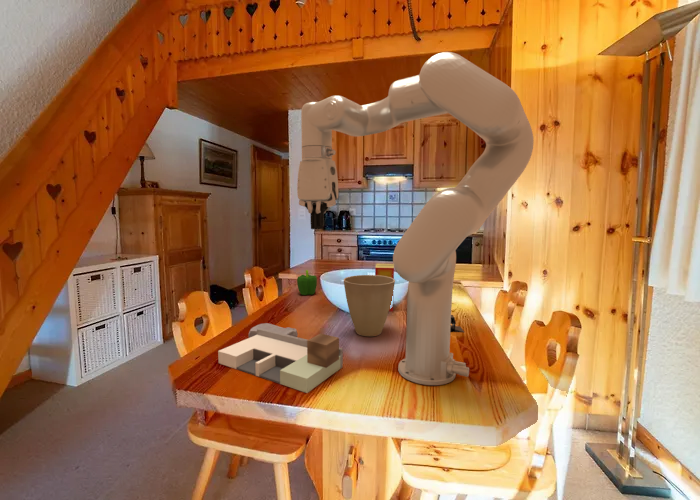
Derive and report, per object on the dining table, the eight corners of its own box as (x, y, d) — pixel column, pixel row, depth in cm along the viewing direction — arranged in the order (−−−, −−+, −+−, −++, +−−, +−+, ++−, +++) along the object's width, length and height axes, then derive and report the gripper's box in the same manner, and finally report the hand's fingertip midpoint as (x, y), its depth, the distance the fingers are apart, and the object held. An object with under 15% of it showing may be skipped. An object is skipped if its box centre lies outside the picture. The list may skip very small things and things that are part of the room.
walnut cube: (338, 359, 79) (339, 337, 78) (326, 367, 75) (326, 345, 74) (320, 354, 81) (320, 333, 81) (307, 362, 77) (307, 340, 77)
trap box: (342, 366, 82) (342, 348, 81) (307, 393, 70) (306, 371, 70) (260, 344, 95) (259, 328, 94) (218, 363, 83) (217, 344, 83)
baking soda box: (393, 311, 125) (394, 267, 123) (374, 310, 126) (375, 266, 124) (392, 304, 135) (393, 262, 133) (375, 303, 135) (376, 262, 134)
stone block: (268, 337, 105) (244, 342, 96) (270, 321, 105) (247, 324, 96) (301, 346, 100) (279, 352, 91) (303, 329, 100) (282, 333, 91)
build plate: (428, 333, 105) (428, 319, 105) (424, 325, 112) (425, 311, 112) (470, 335, 104) (471, 320, 104) (464, 327, 111) (465, 313, 111)
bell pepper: (314, 297, 145) (314, 273, 143) (294, 296, 146) (294, 272, 145) (319, 292, 153) (319, 269, 152) (301, 291, 154) (301, 268, 153)
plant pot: (402, 329, 107) (403, 278, 105) (378, 345, 94) (379, 287, 92) (360, 320, 115) (360, 272, 113) (333, 334, 103) (333, 280, 101)
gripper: (350, 155, 88) (349, 229, 90) (302, 159, 95) (303, 227, 98) (333, 151, 81) (333, 231, 84) (283, 155, 89) (285, 228, 91)
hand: (317, 228), depth 91 cm, fingers closed
